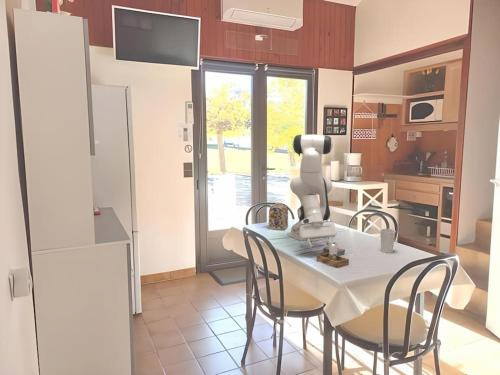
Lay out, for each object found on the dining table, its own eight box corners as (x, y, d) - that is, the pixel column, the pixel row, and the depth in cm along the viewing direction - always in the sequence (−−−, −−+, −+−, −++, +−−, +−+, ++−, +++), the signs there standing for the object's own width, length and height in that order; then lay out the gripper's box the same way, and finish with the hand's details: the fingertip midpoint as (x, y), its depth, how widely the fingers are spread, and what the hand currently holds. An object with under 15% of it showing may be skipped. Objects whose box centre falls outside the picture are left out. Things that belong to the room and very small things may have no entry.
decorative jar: (284, 230, 254) (285, 204, 252) (268, 229, 258) (268, 203, 255) (288, 227, 265) (288, 202, 263) (272, 225, 269) (272, 201, 267)
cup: (376, 251, 208) (377, 230, 207) (383, 248, 214) (384, 228, 212) (390, 254, 203) (391, 232, 201) (396, 251, 208) (398, 230, 207)
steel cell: (326, 260, 189) (327, 242, 187) (332, 259, 191) (332, 240, 190) (333, 262, 185) (333, 243, 184) (338, 261, 188) (339, 242, 187)
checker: (323, 252, 205) (323, 247, 205) (331, 250, 210) (332, 245, 209) (336, 256, 198) (336, 250, 198) (344, 254, 203) (344, 248, 202)
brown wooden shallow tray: (316, 260, 191) (316, 255, 191) (327, 257, 196) (327, 252, 196) (337, 267, 180) (337, 262, 180) (348, 264, 185) (348, 259, 185)
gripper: (331, 221, 205) (337, 245, 200) (295, 225, 203) (300, 249, 197) (335, 217, 200) (340, 242, 194) (298, 221, 197) (303, 246, 191)
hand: (320, 246), depth 195 cm, fingers open, 8 cm apart
